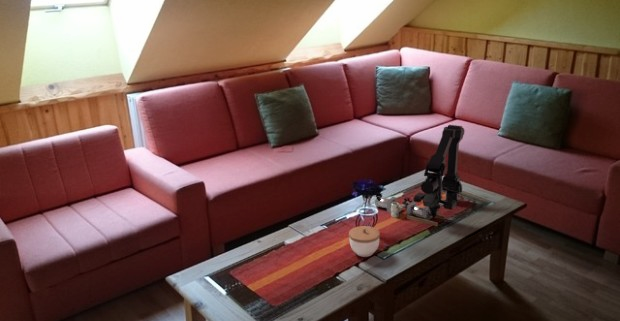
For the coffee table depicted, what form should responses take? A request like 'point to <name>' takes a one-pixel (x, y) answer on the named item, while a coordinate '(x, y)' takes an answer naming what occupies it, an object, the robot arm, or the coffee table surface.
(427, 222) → the cradle rails
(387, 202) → the pipe stub
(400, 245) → the coffee table surface
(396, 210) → the valve
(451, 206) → the robot arm
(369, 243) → the lidded bowl
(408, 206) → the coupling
